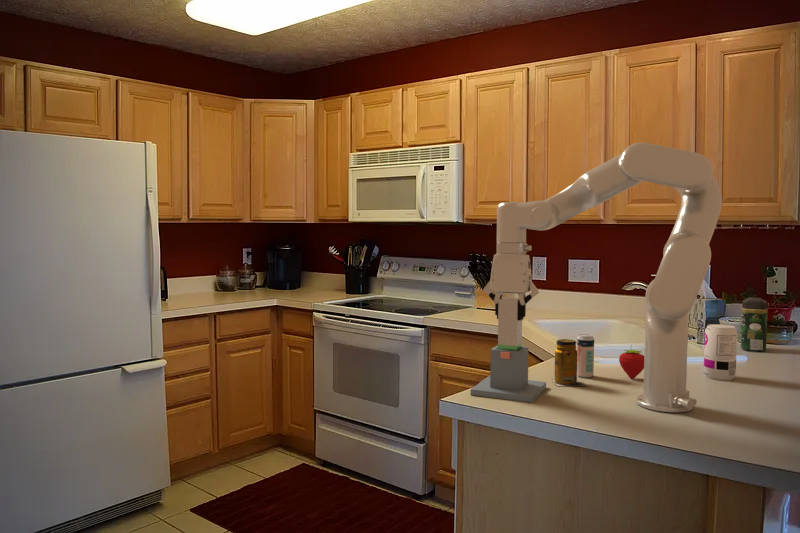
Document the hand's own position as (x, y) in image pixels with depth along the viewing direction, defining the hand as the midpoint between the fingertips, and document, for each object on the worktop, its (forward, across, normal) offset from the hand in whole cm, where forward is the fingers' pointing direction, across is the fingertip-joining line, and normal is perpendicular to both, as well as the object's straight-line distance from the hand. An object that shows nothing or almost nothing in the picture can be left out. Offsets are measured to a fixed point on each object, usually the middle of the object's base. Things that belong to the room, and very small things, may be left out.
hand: (510, 318), depth 161 cm
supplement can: (+20, -51, -41) cm, 68 cm away
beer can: (+20, -16, -26) cm, 36 cm away
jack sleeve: (+19, 0, 0) cm, 19 cm away
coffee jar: (+20, -64, -92) cm, 113 cm away
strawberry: (+20, -28, -28) cm, 45 cm away
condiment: (+20, -13, -16) cm, 28 cm away
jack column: (+12, 0, 0) cm, 12 cm away
